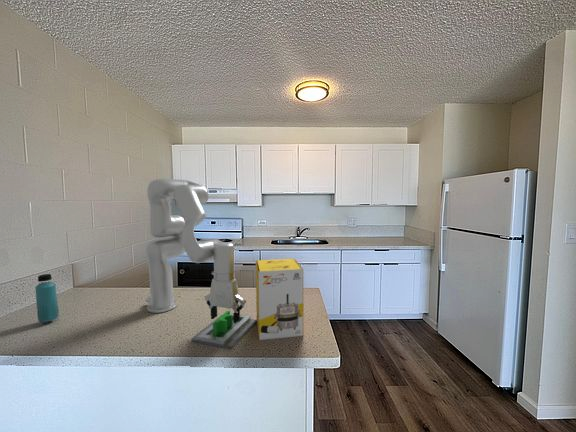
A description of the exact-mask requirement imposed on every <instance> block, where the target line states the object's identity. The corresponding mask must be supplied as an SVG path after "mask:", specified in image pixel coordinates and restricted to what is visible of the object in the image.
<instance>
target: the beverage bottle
mask: <svg viewBox="0 0 576 432" xmlns="http://www.w3.org/2000/svg"><path fill="white" fill-rule="evenodd" d="M52 279H53V278H52V274H50V273H47V274H46V273H44V274H39V275H38V277H37V282H41V283H38V284H37V285H36V286H35V287H34V288H35V299H36V301H35V302H36V314H37V321H38V322H39V323H46V322H51V321H54V320H56V319H57V318H58V317H59V314H60V312H59V305H58V296H57V286H56V283H55V282H54V281H51V280H52Z"/></svg>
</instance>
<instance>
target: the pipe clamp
mask: <svg viewBox="0 0 576 432" xmlns="http://www.w3.org/2000/svg"><path fill="white" fill-rule="evenodd" d="M230 313H231V312H230V310H226V311H225V312H224V313H223V314H221V315H222V316H221V315H220V316H221V317H220V316H219V317H220V318H219V317H218V318H219V319H217V318H216V319H217V320H216V319H215V320H216V321H215V320H214V321H215V322H214V323H213V336H216V335H217V334H218V333H219V332H225V333H227V327H232V326H233V322H232V315H230Z"/></svg>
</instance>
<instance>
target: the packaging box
mask: <svg viewBox="0 0 576 432" xmlns="http://www.w3.org/2000/svg"><path fill="white" fill-rule="evenodd" d="M255 295H256V296H255V299H256V303H255V305H256V306H255V307H256V321H257V322H256V324H257V326H256V327H257V334H258V340H259V341H263V340H264V341H265V340H275V339H283V338H284V339H285V338H295V337H303V336H304V268H303V267H302V266H301V264H299V262H298V261H297V259H296V258H285V259H284V258H282V259H281V258H280V259H279V258H277V259H262V260H261V259H260V260H255Z"/></svg>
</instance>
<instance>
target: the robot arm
mask: <svg viewBox="0 0 576 432" xmlns="http://www.w3.org/2000/svg"><path fill="white" fill-rule="evenodd" d="M146 193H147V198H148V199H147V200H148V203H149V233H150V235H151V236H152V237H154V238H163V239H156V240H152V241H150V242H148V243H147V244H146V246H145V255H146V258H147V265H148V272H149V274H148V275H149V277H148V278H149V292H150V293H149V295H148V296H147V298H146V299H145V303H148V305H147V307H146V310H147V311H148V312H149V313H153V314H159V313H165V312H168V311H171V310H173V309H175V308H176V307H177V306H178V301H176V300H175V299H174V282H173V268H172V265H170V263H169V262H168V261H167V260H171V259H176V258H178V257H181V256H183V255H184V254H185V253H186V255H187V257H188V259H189V261H192V263H195V264H200V263H206V262H208V261H213V271H211V275H212V276H213V278H212V279H211V284H210V292H209V293H208V294H206V295H204V299H205V301H206V304H207V306H208V308H209V309H210V319H211V320H215V318H217V317H218V308H225V309H232V310H233V311H234V312H232V313H233V322H234V323H236V322H237V321H239V319H240V315H241V310H242V309H244V308H245V305H246V303H247V300H245V299H244V298H243V297H241V296H240V294H239V286H238V282H237V279H236V278H235V277H236V276H235V275H236V274H235V273H236V272H235V270H236V269H235V246H234V245H235V244H233V243H232V242H225V241H222V240H219V239H211V240H205V241H200V242H198V240H197V238H196V235H195V227H196V226H198V225H200V224H201V223H203V221H204V220H206V218H207V214H206V212H205V209H204V208H203V205H205V204H206V203H208V200H209V191H208V190H207V188H206V187H205V186H204V185H202V184H200V183H195V182H192V181H190V180H187V179H173V178H158V179H157V178H155V179H154V180H153V179H152V180H151V181H150V182H149V183H148V185H147V189H146ZM168 199H174V201H175V203H176V206H177V207H178V210H179V212H180V214H181V215H176V214H175V215H172V206H171V204H170V202H169V201H168ZM166 237H169V238H166ZM239 303H240V304H239Z"/></svg>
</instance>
